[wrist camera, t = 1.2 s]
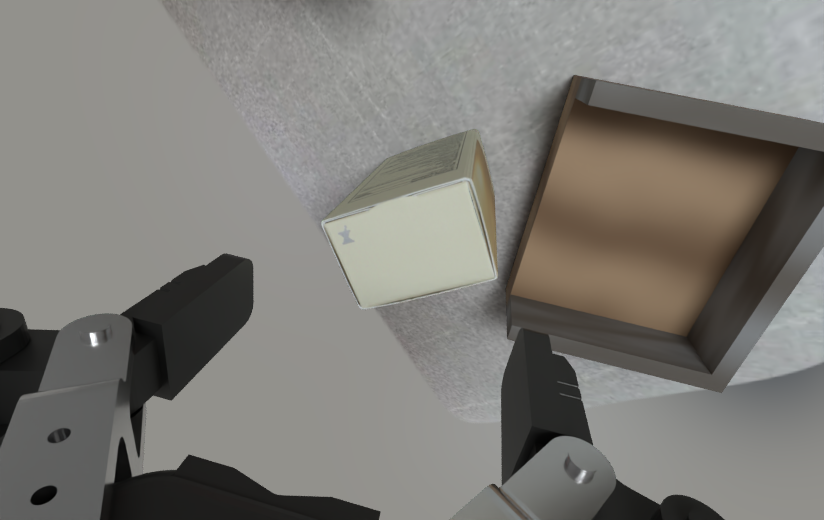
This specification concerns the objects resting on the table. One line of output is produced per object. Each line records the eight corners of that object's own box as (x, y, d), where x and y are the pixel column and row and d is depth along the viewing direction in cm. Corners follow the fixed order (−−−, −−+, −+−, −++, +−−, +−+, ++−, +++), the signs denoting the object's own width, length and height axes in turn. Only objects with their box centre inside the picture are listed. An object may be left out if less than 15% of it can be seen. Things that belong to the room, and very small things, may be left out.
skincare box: (407, 217, 29) (352, 315, 18) (385, 156, 27) (310, 223, 16) (500, 192, 27) (502, 284, 16) (482, 124, 25) (470, 176, 14)
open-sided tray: (574, 74, 23) (596, 80, 18) (802, 118, 22) (898, 138, 17) (505, 288, 30) (507, 339, 24) (680, 330, 29) (721, 392, 23)
